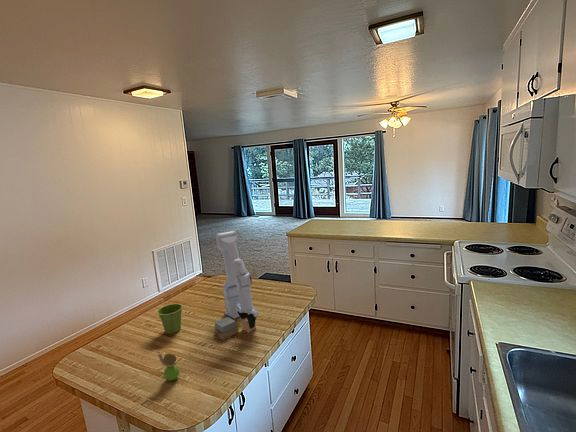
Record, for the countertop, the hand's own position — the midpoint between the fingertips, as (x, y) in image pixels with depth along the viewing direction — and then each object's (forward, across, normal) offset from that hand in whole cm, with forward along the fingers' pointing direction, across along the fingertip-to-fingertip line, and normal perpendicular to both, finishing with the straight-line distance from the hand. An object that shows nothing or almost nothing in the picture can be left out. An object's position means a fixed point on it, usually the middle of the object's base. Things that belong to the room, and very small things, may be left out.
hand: (249, 326), depth 144 cm
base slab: (+2, -6, -9) cm, 11 cm away
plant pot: (+2, -30, -24) cm, 38 cm away
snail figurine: (+2, +5, -40) cm, 40 cm away
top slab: (-1, -6, -9) cm, 11 cm away
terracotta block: (+1, 0, 0) cm, 1 cm away
